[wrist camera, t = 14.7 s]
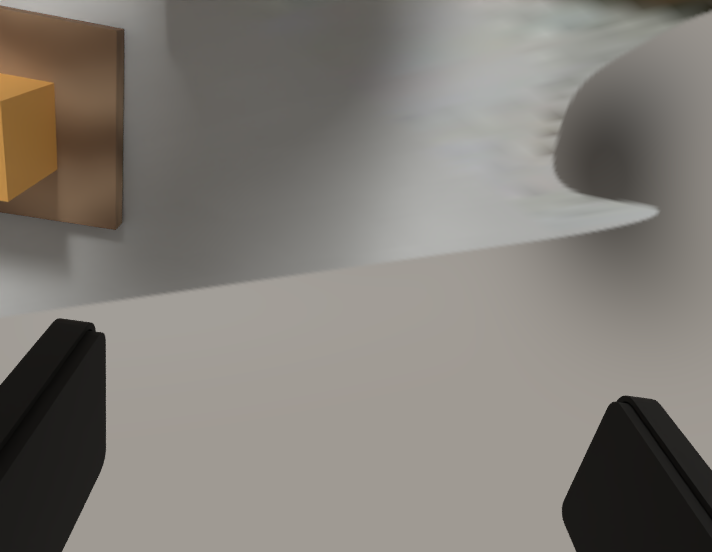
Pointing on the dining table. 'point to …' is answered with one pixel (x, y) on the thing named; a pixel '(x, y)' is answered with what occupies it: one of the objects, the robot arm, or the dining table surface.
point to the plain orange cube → (26, 134)
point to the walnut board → (72, 114)
